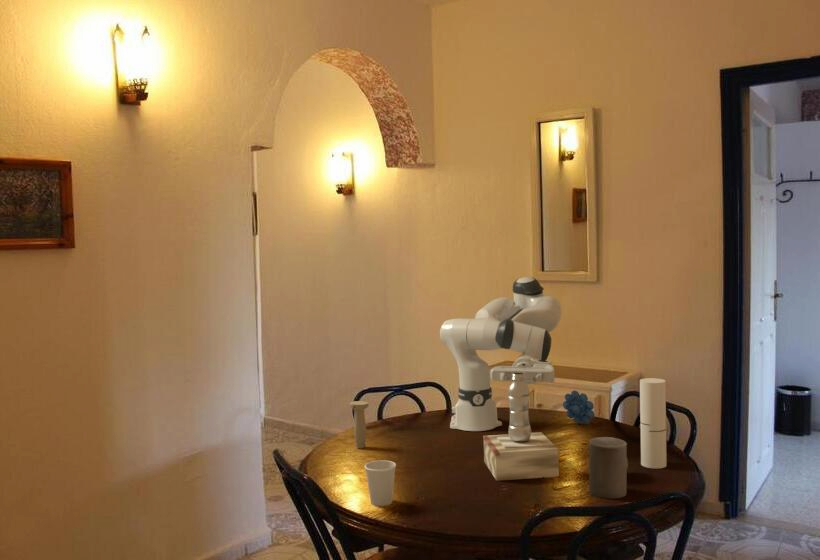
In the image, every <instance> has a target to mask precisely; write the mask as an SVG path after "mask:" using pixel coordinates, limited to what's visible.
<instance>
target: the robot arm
mask: <svg viewBox="0 0 820 560" xmlns="http://www.w3.org/2000/svg"><path fill="white" fill-rule="evenodd" d="M544 290H545V288H544V287H543V286H542V285H541V284H540V281H539V280H538V279H536V278H535V277H531V276H524V277H520V278H518V279H516V280H515V281H514V282H513V283H512V293H513V300H512V299H511V298H509V297H507V296H506V297H504V296H501V297H497V298H495V299H493V300H491V301H489V302H487V304H485V305H484V306H483V307H481V308H480V309H479V310H477V312H476V313H475V316H474V318H466V317H465V318H459V317H456V318H451V319H447V320H445V321H444V322H443V323H442V324H441V326H440V329H439V337H440V341H441V343H442V344H443V345H444V346H445V347H446V348H447V349H448V350H449V351H450V352H451V353H452V355H453V357H454V359H455V361H456V364H457V370H458V380H459V387H458V391H457V393H458V400H457V402H456V404H455V406H452V407H451V413H452V414H453V415H452V416H451V419H450V423H449V428H450V429H454V430H455V429H456V430H461V431H464V432H465V431H468V432H483V431H485V432H486V431H490V430H493V429H495V428H497V427H500V426H503V422H502V421H501V420H498V411H497V409H498V408H497V403H496V401H495V400H493V398H492V397H493V390H492V388H493V387H492V386H491V381H493V382H495V381H496V382H497V381H498V382H500V381H501V382H512V381H513V380H512V373H516V372H521V373H525V380H524V382H525V383H526V385H527V386H528V385H531V384H537V383H555V367H554V366H553V364H552V361H548V358H549V355H550V352H551V347H552V336H551V335H550V332H552V331H554V330H555V329H556V328H557V327H558V325H559V323H560V320H561V317H562V306H561V302H560V301H559V300H558V298H556V297H554V296H552V295H544ZM500 349H501V350H502V349H503V350H511V351H514V352H518V353H521V354H520V355H519V356H518V357H517V358H516V359H515V360H514V362H513V364H512V365H498V366H494V367H492V368H490V366H489V364H488V363H487V362H486V361H485V360H484V359H482V358H481V357H480V356H479V354H478V353H477V351H496V350H500Z"/></svg>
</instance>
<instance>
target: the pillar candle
mask: <svg viewBox="0 0 820 560" xmlns="http://www.w3.org/2000/svg"><path fill="white" fill-rule="evenodd" d="M588 442H589V445H588V450H589V452H588V454H589V455H588V459H589V460H588V461H589V462H588V463H589V464H588V466H589V467H588V468H589V469H588V471H589V472H588V473H589V474H588V475H589V476H588V481H589V494H591V495H592V496H594V497H597V498H600V499H601V498H602V499H613V500H614V499H621V498H624V497H625V496H627V487H628V486H627V485H628V484H627V483H628V481H627V477H628V475H627V472H628V471H627V470H628V467H627V459H628V457H627V450H628V449H627V445H628V443H627V441H625V440H623V439H620V438H617V437H612V436H611V437H608V436H602V437H601V436H599V437H593V438H591V439H590V440H589V441H588Z"/></svg>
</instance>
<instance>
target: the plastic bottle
mask: <svg viewBox="0 0 820 560" xmlns="http://www.w3.org/2000/svg"><path fill="white" fill-rule="evenodd" d="M512 380H513V381H511V383H510V385H509V386H508V388H507V391H506V393H507V394H506V395H507V400H508V404H509V405H508V406H509V425H508V434H509V437H510V439H511V440H513V441H519V442H521V441H527V440H529V439H530V437H531V433H532V428H531V427H532V426H531V424H530V415H529V407H530V406H529V405H530V404H529V403H530V396H531V395H530V394H531V393H530V392H531V390H530V388H529V386H528V385H526V383H525V382H524V380H525V373H521V372H516V373H512Z"/></svg>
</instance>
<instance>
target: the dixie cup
mask: <svg viewBox="0 0 820 560" xmlns="http://www.w3.org/2000/svg"><path fill="white" fill-rule="evenodd" d="M363 467H364V469H365V474H366V480H367V481H366V482H367V485H368V492H369V493H368V494H369V498H370V504H371V505H372V506H375V507H384V506H389V505H391V504H392V503H393V500H394V499H393V498H394V486H395V473H396V467H397V464H396V462H394V461H391V460H383V459H382V460H380V459H378V460H373V461H370V462H367V463H365V465H364V466H363Z"/></svg>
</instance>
